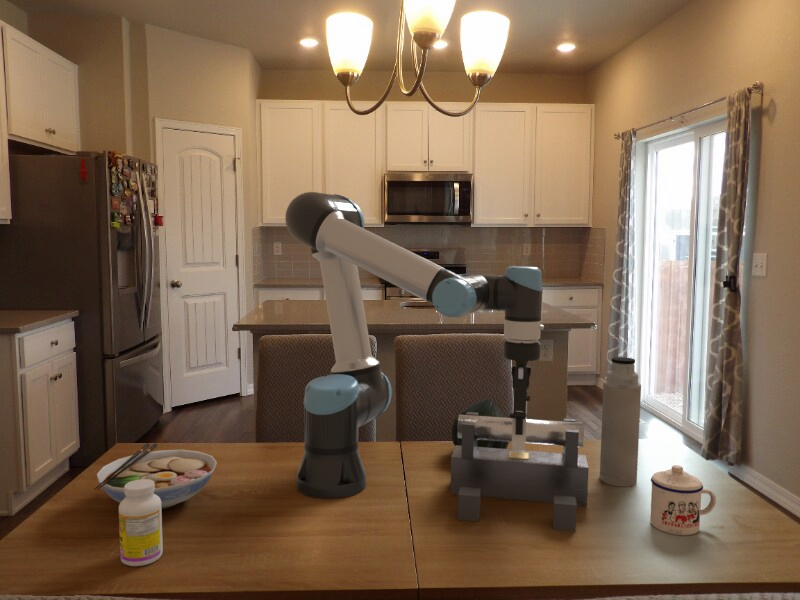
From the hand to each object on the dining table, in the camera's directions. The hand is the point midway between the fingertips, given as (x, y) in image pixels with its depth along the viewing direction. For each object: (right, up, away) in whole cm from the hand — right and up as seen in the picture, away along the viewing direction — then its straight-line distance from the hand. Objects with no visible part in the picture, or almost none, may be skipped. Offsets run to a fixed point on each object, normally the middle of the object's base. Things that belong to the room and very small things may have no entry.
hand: (519, 439), depth 137 cm
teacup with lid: (+28, -13, -15) cm, 34 cm away
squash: (-5, -9, +25) cm, 27 cm away
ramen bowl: (-74, -12, -6) cm, 75 cm away
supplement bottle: (-69, -14, -29) cm, 76 cm away
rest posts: (-3, -13, -13) cm, 19 cm away
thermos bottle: (+24, -11, +9) cm, 28 cm away
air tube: (0, -1, 0) cm, 1 cm away
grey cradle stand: (0, -11, +1) cm, 12 cm away
